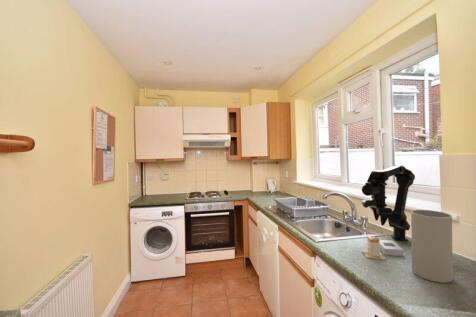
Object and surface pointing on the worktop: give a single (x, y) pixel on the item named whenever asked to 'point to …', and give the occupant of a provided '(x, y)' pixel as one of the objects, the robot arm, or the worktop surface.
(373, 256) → the mat
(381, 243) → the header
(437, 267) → the cylinder vase
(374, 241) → the plug
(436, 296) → the worktop surface
